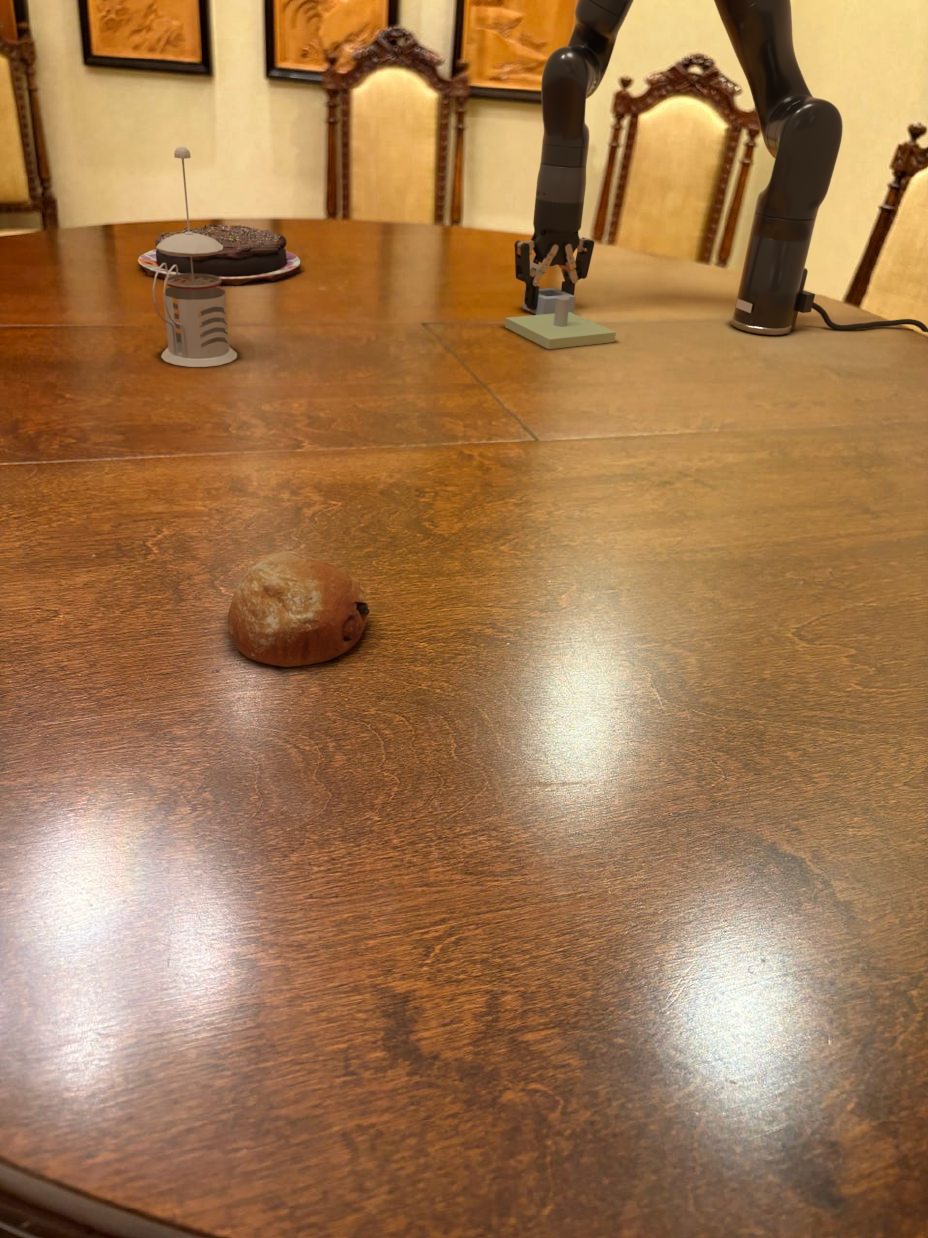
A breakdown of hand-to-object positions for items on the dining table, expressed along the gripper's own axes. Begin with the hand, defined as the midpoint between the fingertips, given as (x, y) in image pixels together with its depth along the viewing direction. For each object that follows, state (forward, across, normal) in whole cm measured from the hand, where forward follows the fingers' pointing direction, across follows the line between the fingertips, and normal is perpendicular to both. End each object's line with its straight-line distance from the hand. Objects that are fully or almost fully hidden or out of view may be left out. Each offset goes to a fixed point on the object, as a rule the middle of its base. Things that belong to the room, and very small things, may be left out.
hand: (548, 306), depth 158 cm
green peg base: (+1, -6, -12) cm, 13 cm away
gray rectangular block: (+1, 0, 0) cm, 1 cm away
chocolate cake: (+1, -41, +43) cm, 59 cm away
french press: (+1, -60, -6) cm, 60 cm away
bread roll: (+1, -72, -74) cm, 103 cm away
